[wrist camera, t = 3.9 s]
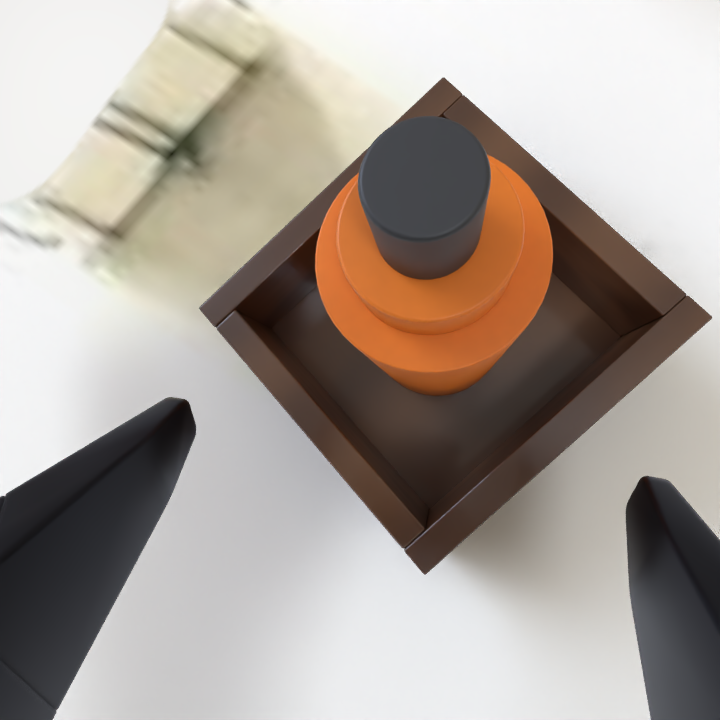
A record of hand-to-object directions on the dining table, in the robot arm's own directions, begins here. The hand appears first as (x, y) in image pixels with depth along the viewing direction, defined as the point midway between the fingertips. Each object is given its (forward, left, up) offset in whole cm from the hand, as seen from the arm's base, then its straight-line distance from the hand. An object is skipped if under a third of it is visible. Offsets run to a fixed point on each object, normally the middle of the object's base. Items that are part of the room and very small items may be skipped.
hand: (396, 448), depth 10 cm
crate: (+3, -3, -11) cm, 12 cm away
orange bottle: (+3, -3, -11) cm, 11 cm away
